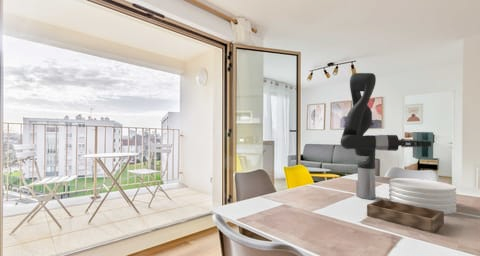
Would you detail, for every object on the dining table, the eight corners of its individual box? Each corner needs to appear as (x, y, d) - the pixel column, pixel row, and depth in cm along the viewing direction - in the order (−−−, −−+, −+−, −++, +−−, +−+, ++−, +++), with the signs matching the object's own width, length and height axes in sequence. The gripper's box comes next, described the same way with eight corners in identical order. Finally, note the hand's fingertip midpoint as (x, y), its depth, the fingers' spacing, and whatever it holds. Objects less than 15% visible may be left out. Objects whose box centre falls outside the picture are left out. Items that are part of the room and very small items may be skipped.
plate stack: (471, 216, 108) (471, 190, 109) (403, 211, 114) (403, 187, 114) (434, 199, 136) (434, 179, 136) (381, 196, 141) (381, 177, 142)
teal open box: (416, 158, 107) (417, 132, 106) (412, 157, 112) (412, 132, 112) (433, 159, 104) (433, 132, 104) (428, 157, 110) (428, 132, 110)
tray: (367, 215, 107) (367, 204, 107) (381, 208, 117) (380, 198, 117) (434, 233, 89) (433, 220, 89) (443, 223, 99) (443, 211, 99)
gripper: (388, 135, 107) (434, 135, 101) (382, 134, 120) (422, 134, 114) (389, 151, 107) (434, 153, 101) (382, 149, 120) (422, 150, 114)
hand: (428, 143), depth 108 cm, fingers closed on teal open box, 6 cm apart
